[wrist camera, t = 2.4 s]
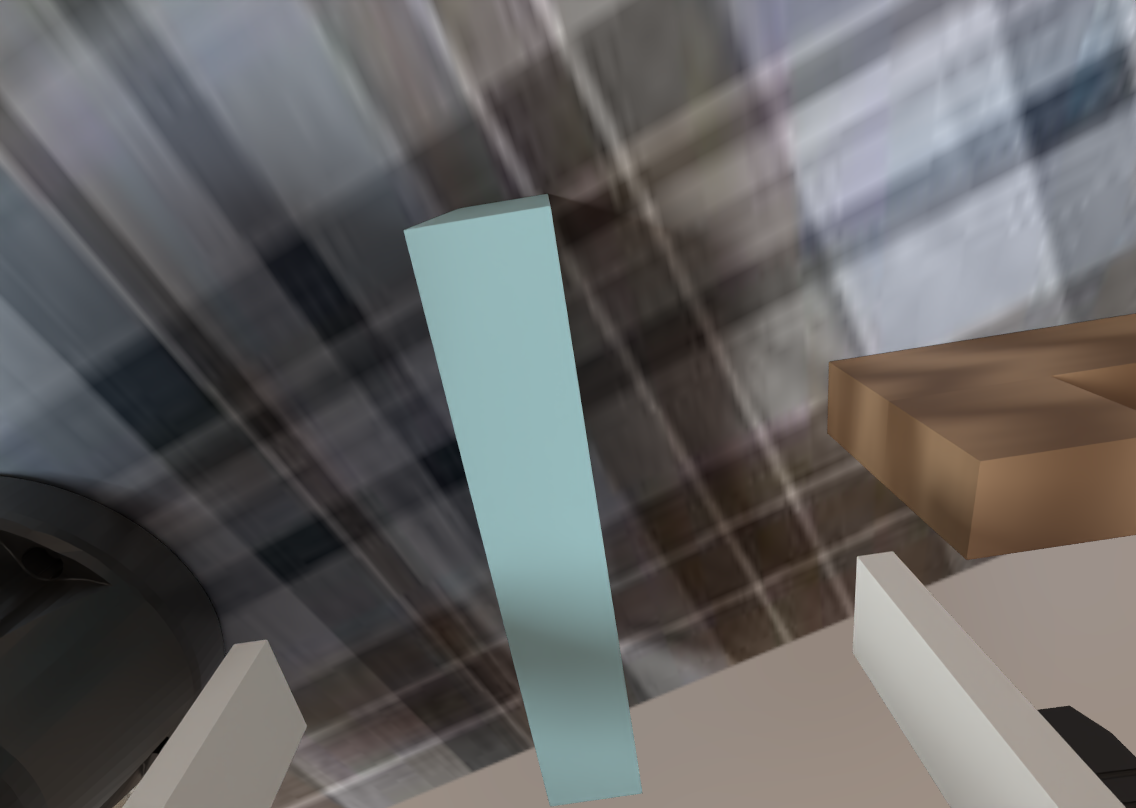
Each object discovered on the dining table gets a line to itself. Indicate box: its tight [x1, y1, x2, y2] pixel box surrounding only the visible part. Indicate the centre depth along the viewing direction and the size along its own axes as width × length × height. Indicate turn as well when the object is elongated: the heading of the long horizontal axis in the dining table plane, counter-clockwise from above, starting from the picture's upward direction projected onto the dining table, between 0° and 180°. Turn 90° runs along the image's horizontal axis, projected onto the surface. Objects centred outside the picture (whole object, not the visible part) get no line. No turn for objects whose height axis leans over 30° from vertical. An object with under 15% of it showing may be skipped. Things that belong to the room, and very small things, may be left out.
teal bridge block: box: [404, 194, 642, 806], centre depth 18 cm, size 3×18×8 cm, turn 9°
